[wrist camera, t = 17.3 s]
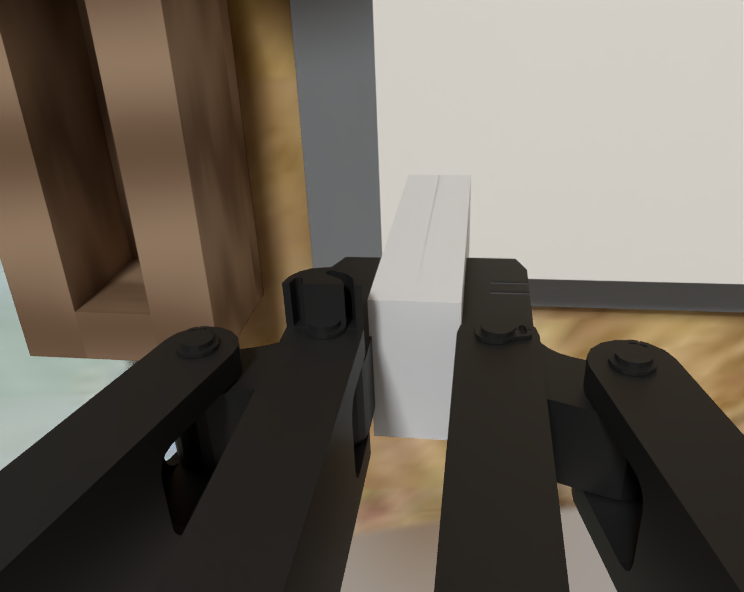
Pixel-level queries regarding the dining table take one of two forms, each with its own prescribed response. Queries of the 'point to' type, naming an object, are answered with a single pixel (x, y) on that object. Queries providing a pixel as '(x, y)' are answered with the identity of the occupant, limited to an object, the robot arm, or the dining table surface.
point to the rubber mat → (361, 165)
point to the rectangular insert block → (573, 130)
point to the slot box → (123, 175)
